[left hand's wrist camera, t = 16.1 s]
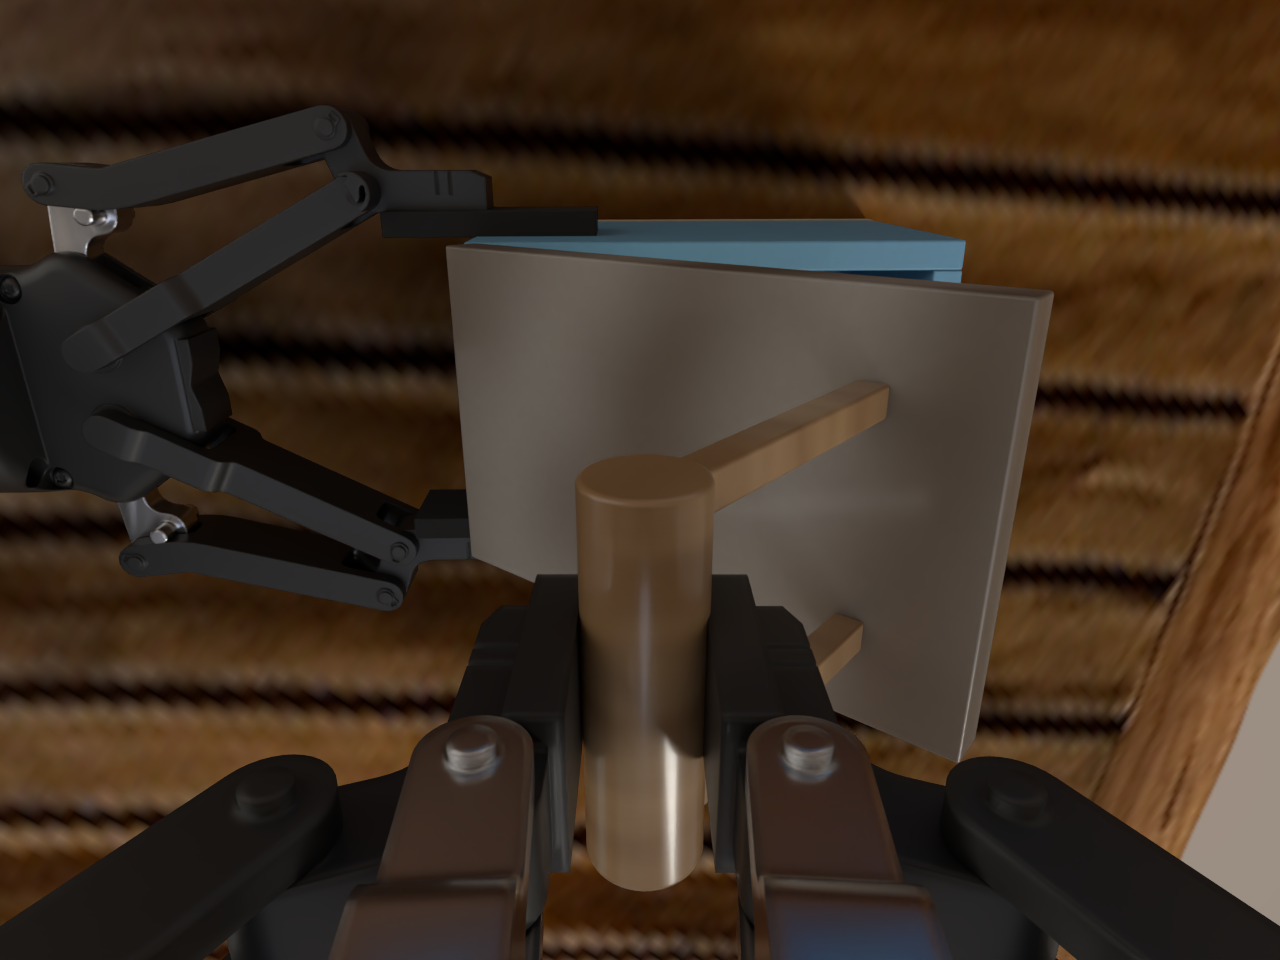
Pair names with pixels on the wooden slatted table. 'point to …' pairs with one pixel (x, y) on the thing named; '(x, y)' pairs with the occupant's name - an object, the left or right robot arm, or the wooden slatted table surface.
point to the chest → (771, 245)
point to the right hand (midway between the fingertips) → (599, 375)
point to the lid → (743, 492)
